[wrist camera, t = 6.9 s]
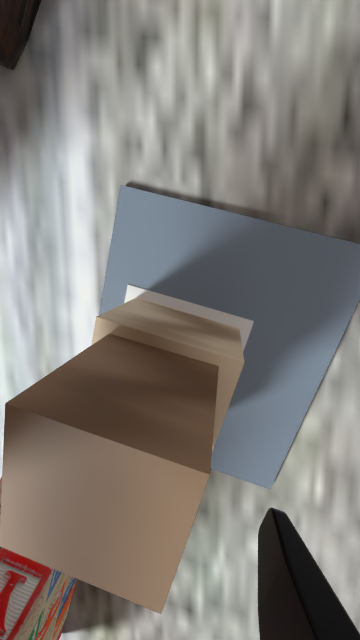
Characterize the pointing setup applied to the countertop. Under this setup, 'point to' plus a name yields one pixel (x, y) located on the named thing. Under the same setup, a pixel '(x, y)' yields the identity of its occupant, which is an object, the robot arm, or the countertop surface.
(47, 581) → the stack of blocks
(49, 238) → the countertop surface
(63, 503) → the brown block
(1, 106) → the countertop surface
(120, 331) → the maple base block
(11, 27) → the manual coffee grinder
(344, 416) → the countertop surface
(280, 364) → the building mat
